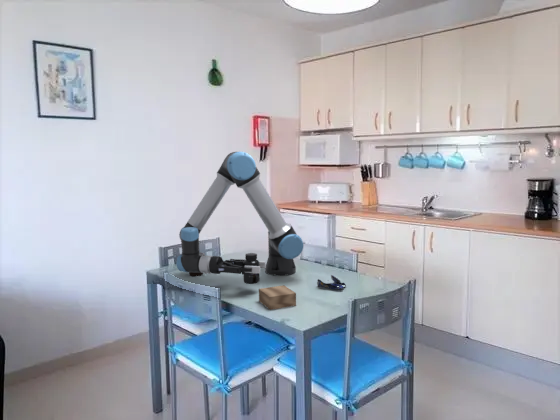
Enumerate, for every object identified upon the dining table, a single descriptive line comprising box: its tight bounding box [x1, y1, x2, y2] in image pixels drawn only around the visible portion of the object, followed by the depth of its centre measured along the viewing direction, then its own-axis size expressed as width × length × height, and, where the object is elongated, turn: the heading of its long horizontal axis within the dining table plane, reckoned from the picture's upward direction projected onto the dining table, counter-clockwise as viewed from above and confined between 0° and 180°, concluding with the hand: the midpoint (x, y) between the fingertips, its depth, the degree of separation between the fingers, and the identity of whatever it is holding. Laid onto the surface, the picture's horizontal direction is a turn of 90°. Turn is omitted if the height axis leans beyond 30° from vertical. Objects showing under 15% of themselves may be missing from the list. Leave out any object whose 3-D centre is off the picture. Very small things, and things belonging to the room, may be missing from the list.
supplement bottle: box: [242, 252, 261, 285], centre depth 190 cm, size 7×7×12 cm
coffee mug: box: [188, 251, 206, 277], centre depth 219 cm, size 12×9×10 cm
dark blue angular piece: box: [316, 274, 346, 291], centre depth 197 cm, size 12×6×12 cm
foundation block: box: [258, 285, 297, 311], centre depth 177 cm, size 11×11×5 cm
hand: (262, 267), depth 188 cm, fingers closed on supplement bottle, 7 cm apart
